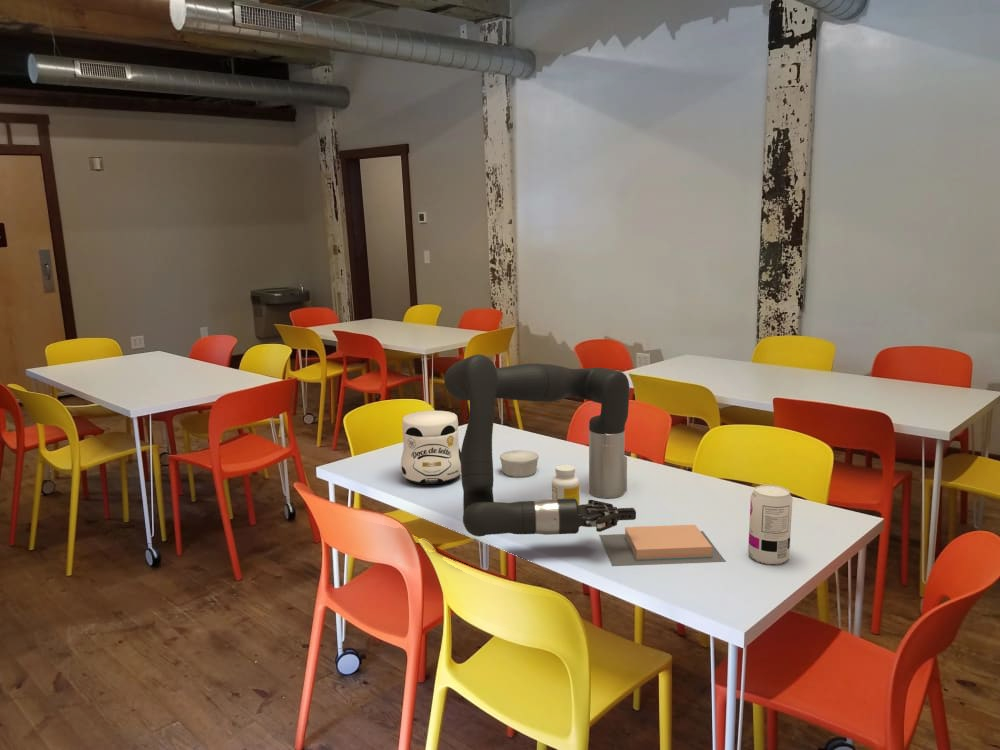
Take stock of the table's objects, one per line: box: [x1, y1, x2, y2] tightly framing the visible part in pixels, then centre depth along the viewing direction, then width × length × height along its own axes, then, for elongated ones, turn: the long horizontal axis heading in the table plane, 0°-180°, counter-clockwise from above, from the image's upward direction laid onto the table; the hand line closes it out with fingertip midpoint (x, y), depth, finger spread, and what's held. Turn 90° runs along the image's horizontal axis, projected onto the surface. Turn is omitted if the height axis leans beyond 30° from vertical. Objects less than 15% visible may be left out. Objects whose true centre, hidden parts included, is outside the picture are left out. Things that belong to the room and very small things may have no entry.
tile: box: [624, 524, 712, 561], centre depth 167 cm, size 2×12×16 cm
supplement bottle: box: [551, 464, 580, 505], centre depth 185 cm, size 7×7×13 cm
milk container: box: [400, 410, 461, 485], centre depth 215 cm, size 17×17×18 cm
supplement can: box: [747, 484, 793, 565], centre depth 161 cm, size 8×8×15 cm
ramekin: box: [499, 449, 540, 478], centre depth 220 cm, size 11×11×5 cm
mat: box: [598, 530, 727, 567], centre depth 168 cm, size 24×16×1 cm, turn 92°
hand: (635, 513), depth 166 cm, fingers closed
